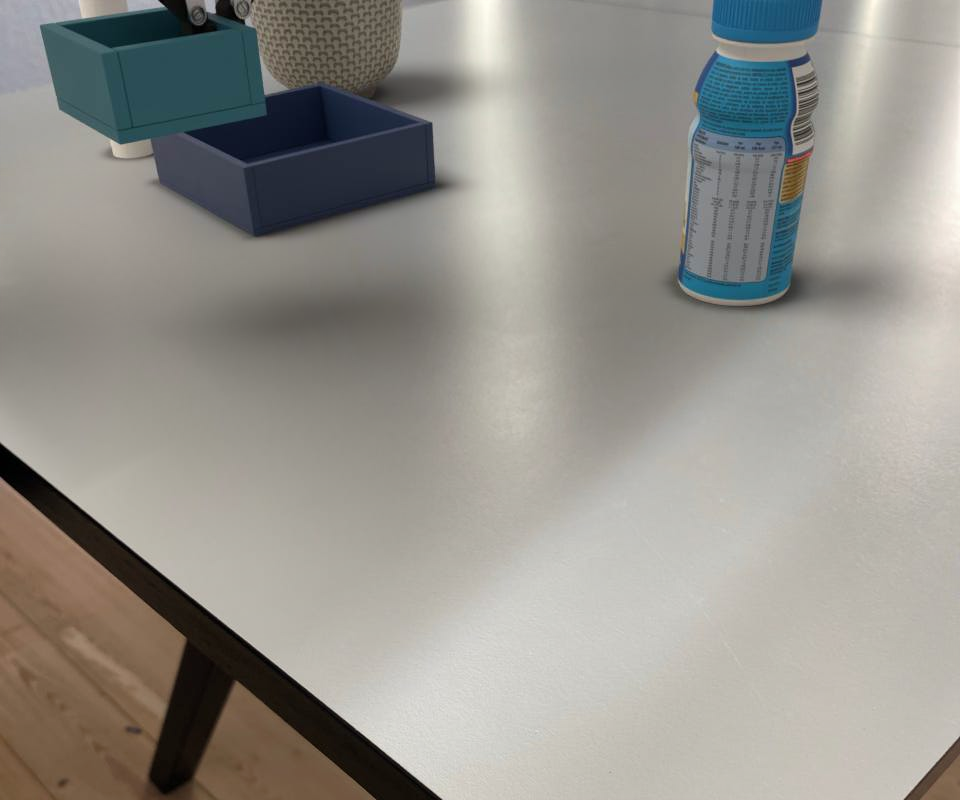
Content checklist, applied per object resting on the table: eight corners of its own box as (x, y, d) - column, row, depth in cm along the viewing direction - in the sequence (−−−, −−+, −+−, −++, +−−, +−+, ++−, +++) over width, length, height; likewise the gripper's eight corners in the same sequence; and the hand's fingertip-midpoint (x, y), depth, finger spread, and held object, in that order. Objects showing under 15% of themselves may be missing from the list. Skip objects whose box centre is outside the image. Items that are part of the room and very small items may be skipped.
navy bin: (254, 240, 93) (243, 168, 89) (159, 185, 105) (146, 119, 101) (436, 190, 102) (432, 122, 98) (329, 144, 113) (322, 82, 109)
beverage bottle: (696, 316, 79) (729, -4, 66) (660, 271, 86) (684, -29, 73) (809, 304, 80) (863, -14, 67) (765, 261, 87) (806, -37, 74)
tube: (148, 161, 111) (112, -12, 101) (107, 160, 111) (67, -12, 101) (163, 147, 114) (129, -21, 104) (123, 147, 114) (85, -21, 105)
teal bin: (120, 145, 67) (101, 53, 64) (58, 109, 73) (38, 24, 70) (267, 115, 72) (256, 28, 69) (198, 84, 78) (185, 3, 75)
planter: (298, 129, 118) (276, -48, 107) (234, 94, 129) (209, -68, 119) (439, 101, 124) (431, -68, 114) (367, 70, 136) (353, -86, 125)
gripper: (260, -274, 68) (295, 58, 80) (10, -269, 61) (89, 95, 73) (323, -274, 63) (351, 79, 75) (61, -268, 56) (137, 120, 68)
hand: (222, 85), depth 74 cm, fingers closed on teal bin, 1 cm apart
